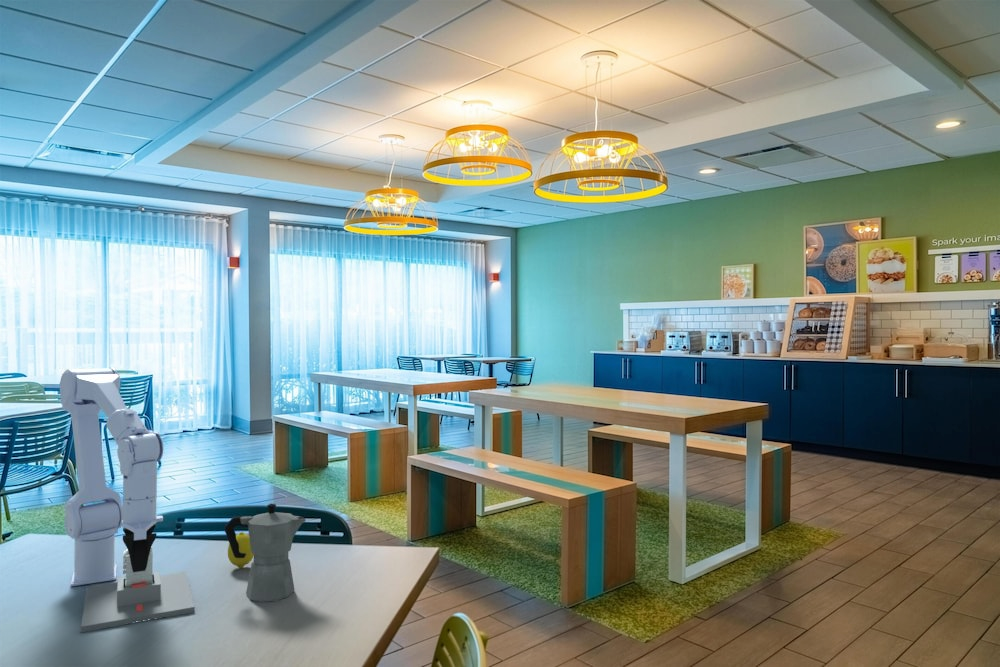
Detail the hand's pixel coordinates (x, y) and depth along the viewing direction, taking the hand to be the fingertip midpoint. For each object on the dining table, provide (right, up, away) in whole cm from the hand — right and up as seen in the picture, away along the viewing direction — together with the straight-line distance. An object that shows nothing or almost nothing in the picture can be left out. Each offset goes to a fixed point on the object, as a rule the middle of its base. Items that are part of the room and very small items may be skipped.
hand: (139, 566), depth 129 cm
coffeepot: (+23, -7, +5) cm, 24 cm away
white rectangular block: (0, -4, 0) cm, 4 cm away
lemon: (+13, -7, +19) cm, 23 cm away
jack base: (0, -7, 0) cm, 7 cm away
